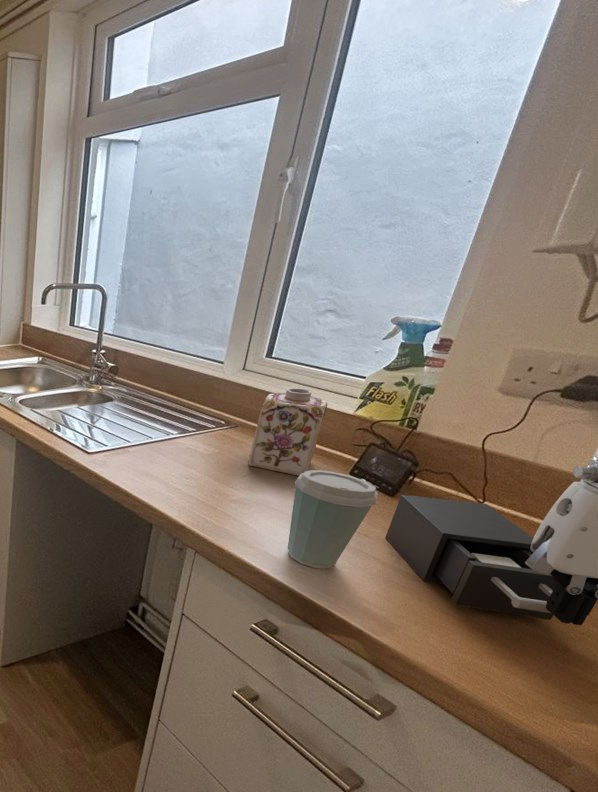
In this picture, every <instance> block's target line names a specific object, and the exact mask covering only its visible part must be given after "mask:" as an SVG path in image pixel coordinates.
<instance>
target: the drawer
mask: <svg viewBox="0 0 598 792" xmlns="http://www.w3.org/2000/svg"><path fill="white" fill-rule="evenodd" d="M471 553H476V554H484V555H491V556H498V557H506V558H510V559H511V560H513V561H514V562H515V563H516V564H518V565H519V566H520V567H521V568H519V567H512V566H505V565H498V564H490V563H483V562H476V561H475V560H476V558H475V557H474V556H473V555H472V554H471ZM531 555H532V553H531V552H530V551H528V550H527V549H526V548H518V547H510V546H503V545H495V544H487V543H479V542H472V541H464V540H456V539H449V538H447V541H446V544H445V546H444V548H443V551H442V553H441V555H440V558H439V560H438V562H437V565H436V567H435V569H434V572H433V573H434V574H435V575H436V576H437V577H438V578H439V579H440V580H441V581H442V582H443V583H444V584H443V585H444V586H445V587H446V588H447V589H448V590H449V591H450V593H451V594H453V595H452V597H451V600H450V601H451V602H452V603H453V604H454V605H455V606H460V607H466V608H472V609H479V610H484V611H485V610H486V611H491V612H492V611H493V612H496V613H497V612H498V613H504V614H509V615H516V616H523V617H528V618H534V619H540V620H548V621H552V618H553V617H554V615H553V614H551V613H550V612H549V611H548V610H547V609H546V603H547V600H548V599H549V597H550V595H551V593H552V591H553V589H554V588H555V586H556V584H557V583H556V582H554V581H553V580H552V578H551V576H548V575H545V574H542V573H539V572H536V571H533V570H532V569H531V568H529V567H528V566H527V565H526V564H525V562H526V560H527V559H528V558H529V557H530V556H531Z"/></svg>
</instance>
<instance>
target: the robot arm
mask: <svg viewBox="0 0 598 792" xmlns="http://www.w3.org/2000/svg"><path fill="white" fill-rule="evenodd" d="M572 476H573V477H574V478H578V479H580V481H573V482H572V483H571V484H570V485H569V486H568V487H567V488H566V489H565V490H564V491H563V493H562V494H561V495H559V497H558V499H557V500H556V501H555V502H554V504H553V505H552V506H551V508H550V509H549V511H548V512H547V514H545V517H544V518H543V520H542V521H541V523H540V525H539V526H538V529H537V530H536V532H535V534H534V535H533V537H532V538H533V541H532V543H531V547H530V549H531V551H532V552H533V554H532V555H531V556H530V557H529V558H528V559H527V560H526V562H525V564H526V565H527V566H528V567H529V568H531V569H532V570H533V571H536V572H539V573H542V574H545V575H548V576H551V578H552V580H553V581H554V582H556V583H557V584H556V586H555V588H554V589H553V591H552V593H551V595H550V597H549V599H548V600H547V603H546V609H547V610H548V611H549V612H550V613H551V614H553V617H555V618H556V619H557V620H558V621H560V622H561V623H562V624H569V625H570V623H571V624H572V625H574V626H582V625H583V624H584V623H585V621H586V619H587V617H588V616H589V615H590V614H591V612H592V610H593V609H594V607H595V605H596V603H597V602H598V447H596V450H595V452H594V454H593V456H592V458H590V460H589V462H588V464H587V465H584V466H582V465H577V466H575V467H574V468H573V470H572Z"/></svg>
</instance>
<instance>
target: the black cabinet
mask: <svg viewBox="0 0 598 792" xmlns="http://www.w3.org/2000/svg"><path fill="white" fill-rule="evenodd" d="M387 529H388V530H387V532H386V534H385V539H386V540H387V542H388V543H389V544H390V545H391V546H392V547H393V548H394V549H395V551H396V552H397V553H398V554H399V555H400V556H401V557H402V558H403V560H404V561H405V562H406V563H407V564H408V565H409V567H410V568H411V569H412V570H413V571H414V572H415V573H416V574H417V576H418V577H419V578H420V579H421V581H423V582H428V583H436V584H440V585H441V584H443V585H444V583H443V582H442V581H441V580H440V579H439V578H438V577H437V576H436V575H435V574H434V573H433V572H434V569H435V567H436V565H437V562H438V560H439V558H440V555H441V553H442V551H443V548H444V546H445V544H446V541H447V538H449V539H456V540H464V541H472V542H479V543H487V544H495V545H503V546H510V547H518V548H526V549H527V550H528V551H530V552H531V553H532V554H533V552H532V551H531V549H530V547H531V543H532V541H533V538H534V537H532V536H531V535H530V534H528V533H527V532H526V531H525V530H523V529H522V528H520V527H519V526H517V525H516V524H515V523H513V522H512V521H511V520H509V519H508V518H506V517H505V516H504V515H502V514H501V513H500V512H499V511H497V510H496V509H494V508H493V507H492V506H490V505H488V504H487V503H478V502H471V501H463V500H462V501H460V500H452V499H443V498H436V497H435V498H434V497H426V496H425V497H424V496H417V495H406V494H401V495H400V497H399V500H398V503H397V504H396V508H395V510H394V514H393V516H392V518H391V521H390V525H389V526H388V528H387Z"/></svg>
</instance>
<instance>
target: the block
mask: <svg viewBox="0 0 598 792" xmlns="http://www.w3.org/2000/svg"><path fill="white" fill-rule="evenodd" d="M471 554H472V555H473V556H474V557H475V558H476V560H475V561H476V562H483V563H490V564H498V565H505V566H512V567H519V568H521V567H520V566H519V565H518V564H516V563H515V562H514V561H513V560H511V559H510V558H506V557H498V556H491V555H484V554H476V553H471Z"/></svg>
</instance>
